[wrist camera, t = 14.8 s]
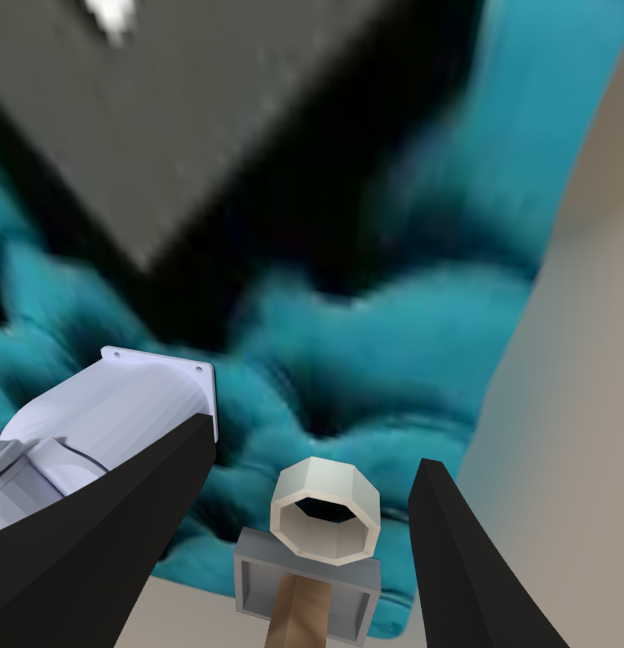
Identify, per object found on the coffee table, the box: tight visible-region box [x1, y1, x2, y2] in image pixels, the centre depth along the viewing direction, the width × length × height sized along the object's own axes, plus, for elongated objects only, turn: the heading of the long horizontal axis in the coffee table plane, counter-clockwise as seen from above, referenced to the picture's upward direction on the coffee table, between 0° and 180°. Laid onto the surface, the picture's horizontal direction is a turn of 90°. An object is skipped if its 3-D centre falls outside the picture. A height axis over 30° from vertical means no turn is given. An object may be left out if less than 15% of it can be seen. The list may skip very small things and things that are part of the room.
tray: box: [233, 526, 381, 647], centre depth 30 cm, size 14×11×2 cm
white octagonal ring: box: [270, 456, 381, 566], centre depth 24 cm, size 9×9×3 cm
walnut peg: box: [264, 573, 331, 648], centre depth 26 cm, size 4×4×9 cm
